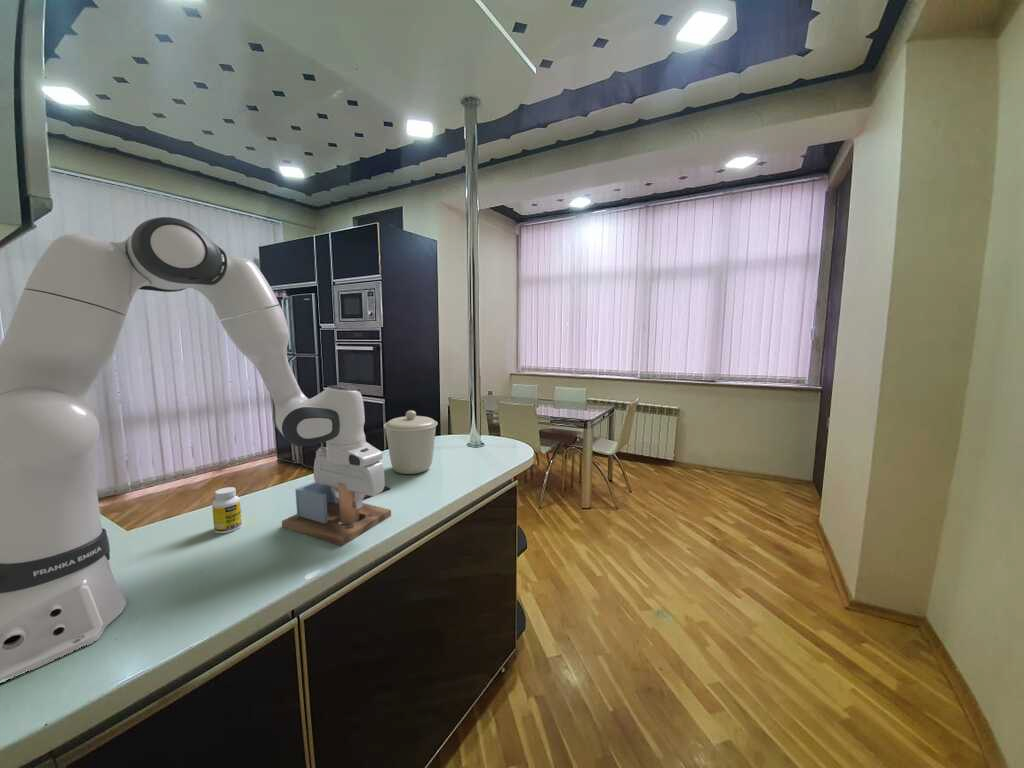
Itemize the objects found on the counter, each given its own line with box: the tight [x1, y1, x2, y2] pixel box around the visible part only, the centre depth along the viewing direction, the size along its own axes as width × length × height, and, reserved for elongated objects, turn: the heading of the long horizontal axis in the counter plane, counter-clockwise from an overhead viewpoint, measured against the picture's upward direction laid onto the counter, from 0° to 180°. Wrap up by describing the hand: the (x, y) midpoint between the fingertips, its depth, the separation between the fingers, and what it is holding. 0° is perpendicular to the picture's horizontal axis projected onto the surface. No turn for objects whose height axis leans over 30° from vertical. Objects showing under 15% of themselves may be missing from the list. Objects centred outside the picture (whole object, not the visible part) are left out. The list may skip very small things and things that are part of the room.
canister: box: [383, 409, 438, 475], centre depth 133 cm, size 18×18×21 cm
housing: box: [295, 481, 337, 524], centre depth 98 cm, size 10×10×7 cm
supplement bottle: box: [211, 486, 243, 534], centre depth 93 cm, size 5×5×10 cm
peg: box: [338, 482, 360, 524], centre depth 95 cm, size 5×5×10 cm
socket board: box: [281, 502, 392, 547], centre depth 97 cm, size 16×20×2 cm
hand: (349, 505), depth 95 cm, fingers closed on peg, 4 cm apart
